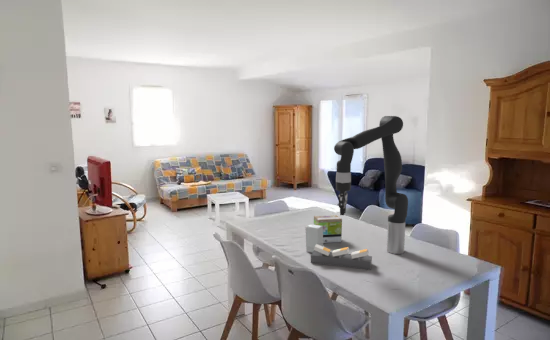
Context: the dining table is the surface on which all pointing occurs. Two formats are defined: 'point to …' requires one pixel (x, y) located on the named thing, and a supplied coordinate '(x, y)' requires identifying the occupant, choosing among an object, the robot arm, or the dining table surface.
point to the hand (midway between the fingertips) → (342, 213)
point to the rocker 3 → (359, 253)
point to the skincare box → (313, 237)
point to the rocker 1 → (322, 249)
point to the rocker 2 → (340, 251)
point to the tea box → (330, 227)
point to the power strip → (342, 260)
